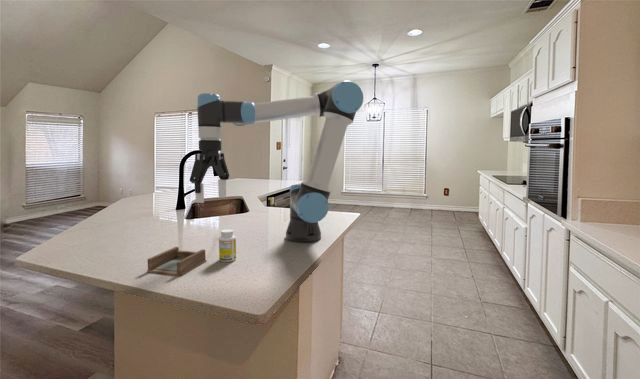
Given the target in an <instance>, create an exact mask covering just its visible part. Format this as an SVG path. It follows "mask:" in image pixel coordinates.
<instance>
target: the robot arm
mask: <svg viewBox="0 0 640 379" xmlns="http://www.w3.org/2000/svg"><path fill="white" fill-rule="evenodd" d="M363 103H364V93H363V91H362V89H361V87H360V86H359V84H357V83H356V82H355V81H351V80H344V81H343V80H342V81H339V82H337V83H336V84H335V85H334V86H332V87H330V88H329V89H327V90H323V91H321V92H314V93H313V95H312V96H305V97H296V98H288V99H281V100H273V101H265V102H257V103H256V102H255V103H254V102H253V101H251V102H250V101H238V100H236V101H235V100H233V101H231V100H222V99H221V96H220V95H219V94H216V93H210V92H209V93H208V92H206V93H200V94H198V96H197V106H196V109H197V110H196V111H197V128H198V139H199V140H198V150H199V151H200V152H201V153H195V154H194V162H193V167H192V170H191V173H190V177H189V182H190V183H191V184H194V195H195V203H196V204H199V203H200V204H203V203H205V192H204V191H205V189H204V183H202V182H203V180H204V178H205V176H206V174H207V171H208V170H209V169H210V168H211V167H213V169H214V171H215V173H216V174H217V177H218V178H219V179H218V181H217V183H218V184H217V185H218V186H217V190H218V197H219V198H226V197H227V188H226V187H227V182H226V181H227V180H229V178H230V173H229V170H228V166H227V163H226V160H225V154H224V152H223V153H222V152H220V151H222V141H221V139H222V126H221V124H222V123H223V124H226V123H227V124H233V125H235V126H236V127H243V126H245V125H253V124H258V123H266V122H274V121H280V120H287V119H296V118H301V117H310V116H316V117H317V118H321V117H325V121H324V124H323V127H322V130H321V133H320V137H319V140H318V143H317V146H316V149H315V152H314V155H313V158H312V161H311V166H310V169H309V171H308V175H307V178H306V179H304V180H303V181H302V182H301V183H300V184H292V185H290V188H289V222H288V225H287V229H286V231H285V238H286V239H287V240H288V241H292V242H295V243H312V242H316V241H319V240H321V239H322V231H321V228H320V225H319V224H320V223H319V222H320V221H322V220H323V219H324V218H326V216H327V215H328V212H329V209H330V208H329V202H328V201H329V199H330V194H331V192H332V191H331V189H330V187H329V185H330V182H331V179H332V176H333V172H334V169H335V166H336V163H337V159H338V157H339V153H340V151H341V147H342V144H343V140H344V138H345V135H346V131H347V128H348V126H350V125H351V124H353V122H354V119H355V117H356V114H357V112H359V110H360V108H361V107H362V106H363Z"/></svg>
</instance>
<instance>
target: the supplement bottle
mask: <svg viewBox="0 0 640 379" xmlns="http://www.w3.org/2000/svg"><path fill="white" fill-rule="evenodd" d="M236 240H237V236H235V235H234V230H233V229H223V230H221V231H220V236H219V237H218V252H219V257H218V259H219V261H220V262H223V263H229V262H230V263H231V262H234V261H235V260H237V241H236Z"/></svg>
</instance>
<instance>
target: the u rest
mask: <svg viewBox="0 0 640 379" xmlns="http://www.w3.org/2000/svg"><path fill="white" fill-rule="evenodd" d="M206 262H207V259H206V249H201V250H198V251H191V250H190V251H189V250H180V249H179V246H174V247H172V248H170V249H167V250H165V251H162V252H161V253H158V254H157V255H154V256H151V257H149V258H147V271H146V272H147V273H152V274H153V273H154V274H162V275H168V276H169V275H170V276H177V277H178V276H179V277H183V276H184V275H186V274H187V273H189V272H191V271H192V270H194V269H197V268H198V267H199V266H201V265H203V264H205V263H206Z"/></svg>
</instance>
